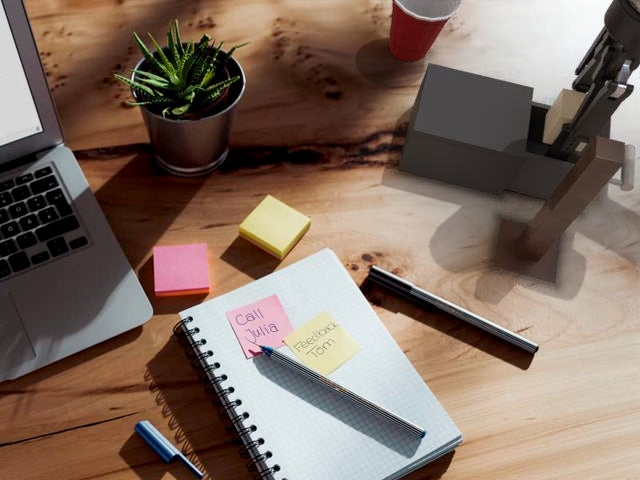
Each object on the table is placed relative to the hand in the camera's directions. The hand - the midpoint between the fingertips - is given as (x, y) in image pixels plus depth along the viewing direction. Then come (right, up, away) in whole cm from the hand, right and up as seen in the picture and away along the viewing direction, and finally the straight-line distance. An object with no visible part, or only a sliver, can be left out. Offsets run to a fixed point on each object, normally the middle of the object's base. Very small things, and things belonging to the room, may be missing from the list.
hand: (555, 144), depth 90 cm
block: (0, +1, -2) cm, 2 cm away
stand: (-4, -15, 0) cm, 16 cm away
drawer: (+2, -3, +5) cm, 6 cm away
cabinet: (-12, 0, +7) cm, 14 cm away
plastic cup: (-16, +18, +16) cm, 29 cm away
